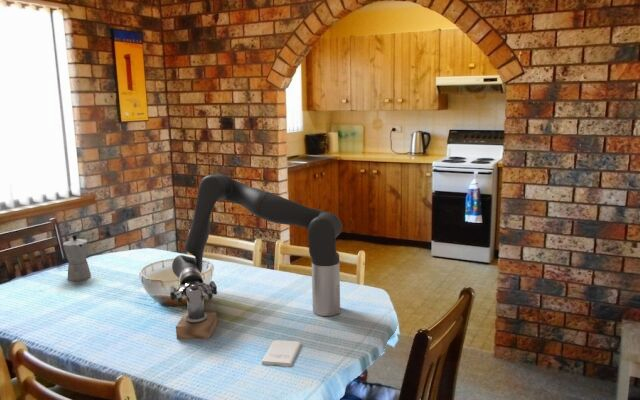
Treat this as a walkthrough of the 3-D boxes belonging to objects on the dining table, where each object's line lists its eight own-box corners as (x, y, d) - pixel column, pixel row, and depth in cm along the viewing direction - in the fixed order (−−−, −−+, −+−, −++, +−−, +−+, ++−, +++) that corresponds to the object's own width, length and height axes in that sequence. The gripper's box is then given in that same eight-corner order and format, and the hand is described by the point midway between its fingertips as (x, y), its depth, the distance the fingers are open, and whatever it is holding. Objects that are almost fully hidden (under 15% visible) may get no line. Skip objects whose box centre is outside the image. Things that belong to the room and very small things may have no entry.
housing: (209, 314, 167) (207, 281, 165) (204, 323, 161) (201, 288, 158) (189, 314, 167) (186, 281, 165) (183, 323, 161) (180, 288, 159)
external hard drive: (300, 346, 155) (290, 368, 143) (273, 344, 156) (261, 365, 144) (300, 341, 154) (290, 362, 142) (273, 339, 156) (261, 360, 144)
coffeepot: (97, 278, 215) (92, 235, 211) (73, 284, 208) (68, 240, 205) (82, 269, 226) (78, 229, 222) (59, 275, 219) (54, 233, 216)
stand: (216, 324, 169) (216, 312, 169) (209, 338, 160) (208, 326, 159) (186, 324, 170) (185, 312, 169) (176, 338, 160) (175, 326, 159)
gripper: (168, 273, 173) (170, 290, 158) (212, 267, 177) (218, 284, 162) (169, 294, 174) (172, 313, 159) (213, 289, 179) (219, 307, 163)
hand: (195, 298), depth 161 cm, fingers open, 8 cm apart
